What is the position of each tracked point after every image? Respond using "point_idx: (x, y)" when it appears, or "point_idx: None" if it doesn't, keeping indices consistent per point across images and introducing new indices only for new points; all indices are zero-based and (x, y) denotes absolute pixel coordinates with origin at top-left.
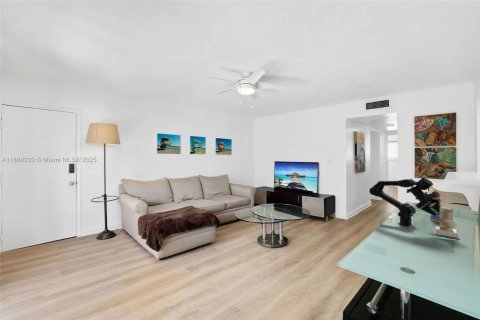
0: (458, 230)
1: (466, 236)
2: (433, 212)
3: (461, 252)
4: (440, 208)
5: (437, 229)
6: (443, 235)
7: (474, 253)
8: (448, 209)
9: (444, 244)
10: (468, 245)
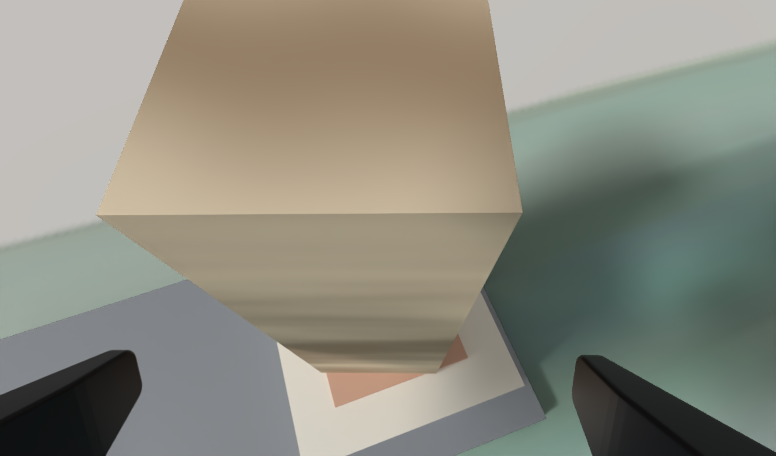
0: (93, 316)
1: None
2: (697, 422)
3: (750, 105)
4: (507, 197)
5: (487, 379)
6: (492, 313)
7: (667, 71)
8: None
9: (717, 221)
10: (521, 136)
